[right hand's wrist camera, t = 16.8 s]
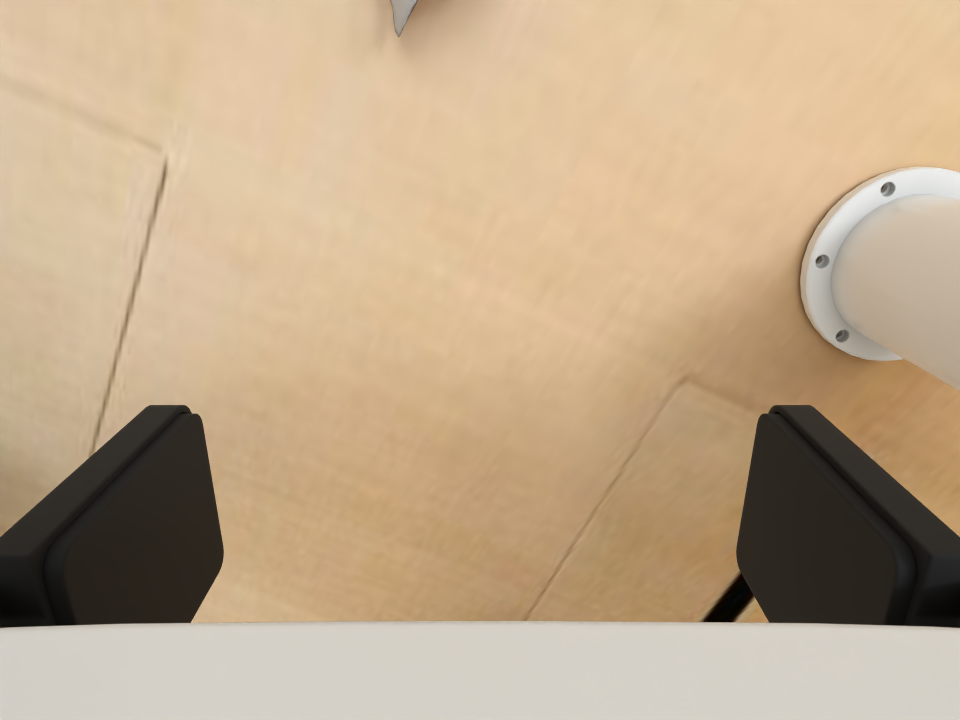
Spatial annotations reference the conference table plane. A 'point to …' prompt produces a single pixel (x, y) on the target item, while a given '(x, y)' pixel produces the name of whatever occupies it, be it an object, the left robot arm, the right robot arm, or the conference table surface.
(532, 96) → the conference table surface
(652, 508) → the conference table surface
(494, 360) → the conference table surface
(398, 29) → the fish
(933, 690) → the right robot arm
